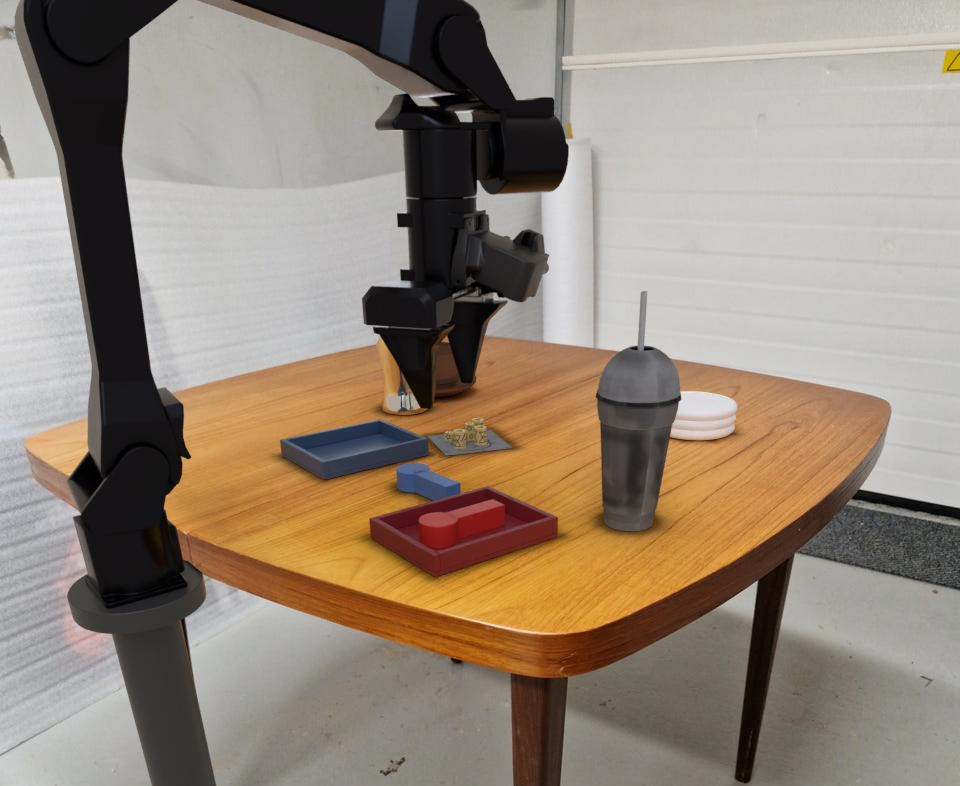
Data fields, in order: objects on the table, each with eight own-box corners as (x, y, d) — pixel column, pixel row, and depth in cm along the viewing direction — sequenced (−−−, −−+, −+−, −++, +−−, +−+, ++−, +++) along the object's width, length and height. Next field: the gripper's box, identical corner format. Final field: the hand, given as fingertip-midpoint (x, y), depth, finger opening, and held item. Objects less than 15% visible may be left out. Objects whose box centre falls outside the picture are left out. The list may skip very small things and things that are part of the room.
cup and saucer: (424, 408, 113) (422, 360, 110) (375, 391, 122) (372, 346, 118) (493, 393, 120) (493, 347, 117) (443, 377, 128) (441, 335, 125)
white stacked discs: (752, 432, 102) (756, 403, 100) (689, 446, 98) (692, 416, 96) (693, 413, 109) (696, 386, 108) (633, 425, 105) (635, 397, 103)
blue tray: (324, 479, 89) (322, 462, 88) (281, 456, 97) (279, 439, 96) (428, 455, 96) (428, 438, 95) (381, 434, 103) (380, 418, 102)
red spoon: (487, 517, 79) (487, 496, 78) (510, 528, 77) (510, 507, 76) (412, 539, 75) (410, 517, 74) (433, 551, 72) (432, 530, 71)
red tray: (434, 577, 69) (433, 555, 68) (370, 537, 76) (368, 518, 75) (557, 536, 76) (558, 516, 75) (488, 504, 83) (488, 485, 82)
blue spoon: (467, 500, 84) (467, 480, 83) (440, 508, 82) (439, 489, 81) (417, 479, 89) (416, 460, 88) (390, 486, 87) (389, 467, 86)
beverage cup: (673, 511, 80) (698, 284, 70) (662, 541, 74) (686, 297, 64) (597, 503, 83) (610, 281, 72) (580, 532, 77) (592, 294, 67)
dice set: (481, 433, 103) (481, 417, 102) (495, 445, 99) (495, 428, 98) (441, 437, 102) (441, 421, 101) (454, 449, 98) (453, 433, 97)
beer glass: (430, 416, 110) (425, 291, 103) (376, 416, 110) (367, 292, 103) (433, 402, 116) (428, 283, 109) (382, 402, 116) (374, 284, 109)
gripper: (495, 205, 58) (496, 432, 66) (571, 191, 73) (564, 377, 81) (350, 204, 61) (368, 419, 69) (451, 191, 76) (456, 369, 84)
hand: (447, 394), depth 76 cm, fingers open, 9 cm apart
